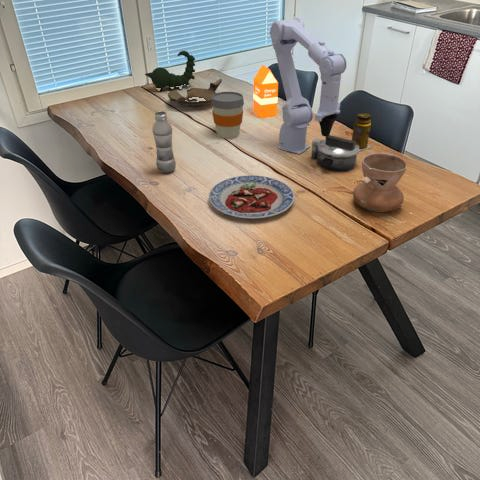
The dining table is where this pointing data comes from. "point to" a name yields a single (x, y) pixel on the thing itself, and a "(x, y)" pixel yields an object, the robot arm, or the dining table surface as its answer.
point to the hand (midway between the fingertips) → (325, 135)
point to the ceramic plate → (251, 196)
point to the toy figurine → (165, 78)
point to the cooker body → (333, 161)
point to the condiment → (362, 130)
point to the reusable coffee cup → (227, 113)
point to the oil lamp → (195, 95)
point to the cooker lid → (337, 147)
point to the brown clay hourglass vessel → (380, 182)
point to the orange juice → (265, 93)
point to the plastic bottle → (163, 143)
